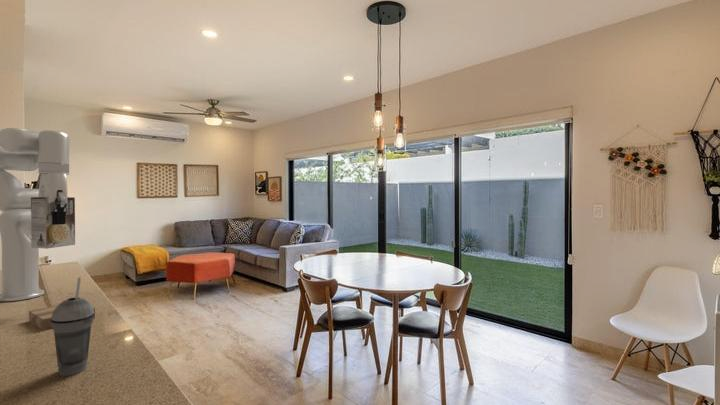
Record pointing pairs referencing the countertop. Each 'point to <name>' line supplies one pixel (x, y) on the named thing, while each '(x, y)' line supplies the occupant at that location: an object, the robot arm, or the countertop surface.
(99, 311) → the countertop surface
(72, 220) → the coffee box
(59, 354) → the beverage cup
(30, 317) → the walnut base
